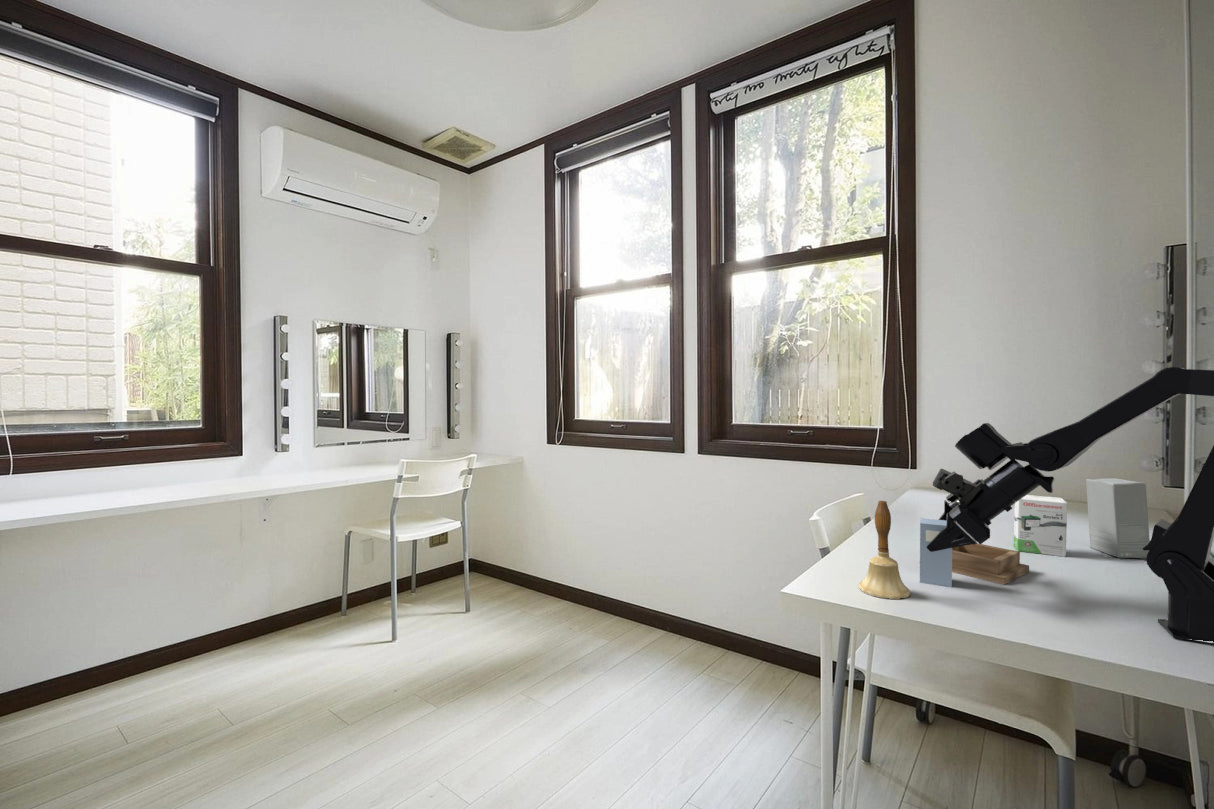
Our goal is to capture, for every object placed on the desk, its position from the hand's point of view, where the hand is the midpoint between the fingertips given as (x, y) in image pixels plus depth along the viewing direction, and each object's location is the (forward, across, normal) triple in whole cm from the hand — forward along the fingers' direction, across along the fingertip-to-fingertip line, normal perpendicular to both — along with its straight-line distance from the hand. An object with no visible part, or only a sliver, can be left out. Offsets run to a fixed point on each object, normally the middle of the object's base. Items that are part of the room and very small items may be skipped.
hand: (928, 543), depth 102 cm
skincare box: (-20, -38, +30) cm, 52 cm away
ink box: (-10, -32, +20) cm, 39 cm away
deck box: (+4, 0, +6) cm, 7 cm away
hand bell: (+10, +10, 0) cm, 14 cm away
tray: (-1, -12, +11) cm, 16 cm away
